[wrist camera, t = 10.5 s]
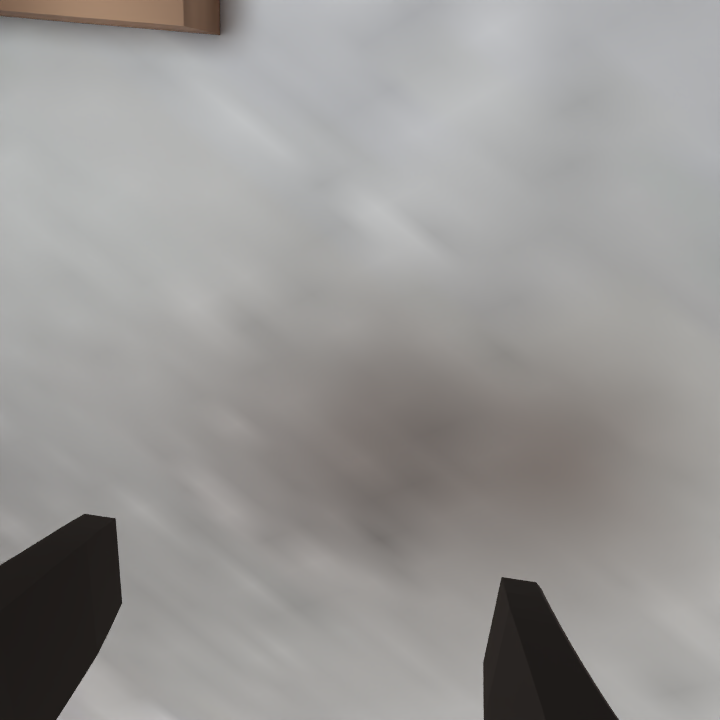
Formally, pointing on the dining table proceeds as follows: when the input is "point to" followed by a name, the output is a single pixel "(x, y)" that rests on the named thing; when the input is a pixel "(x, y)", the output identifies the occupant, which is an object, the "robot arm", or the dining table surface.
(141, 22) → the socket block
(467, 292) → the dining table surface
